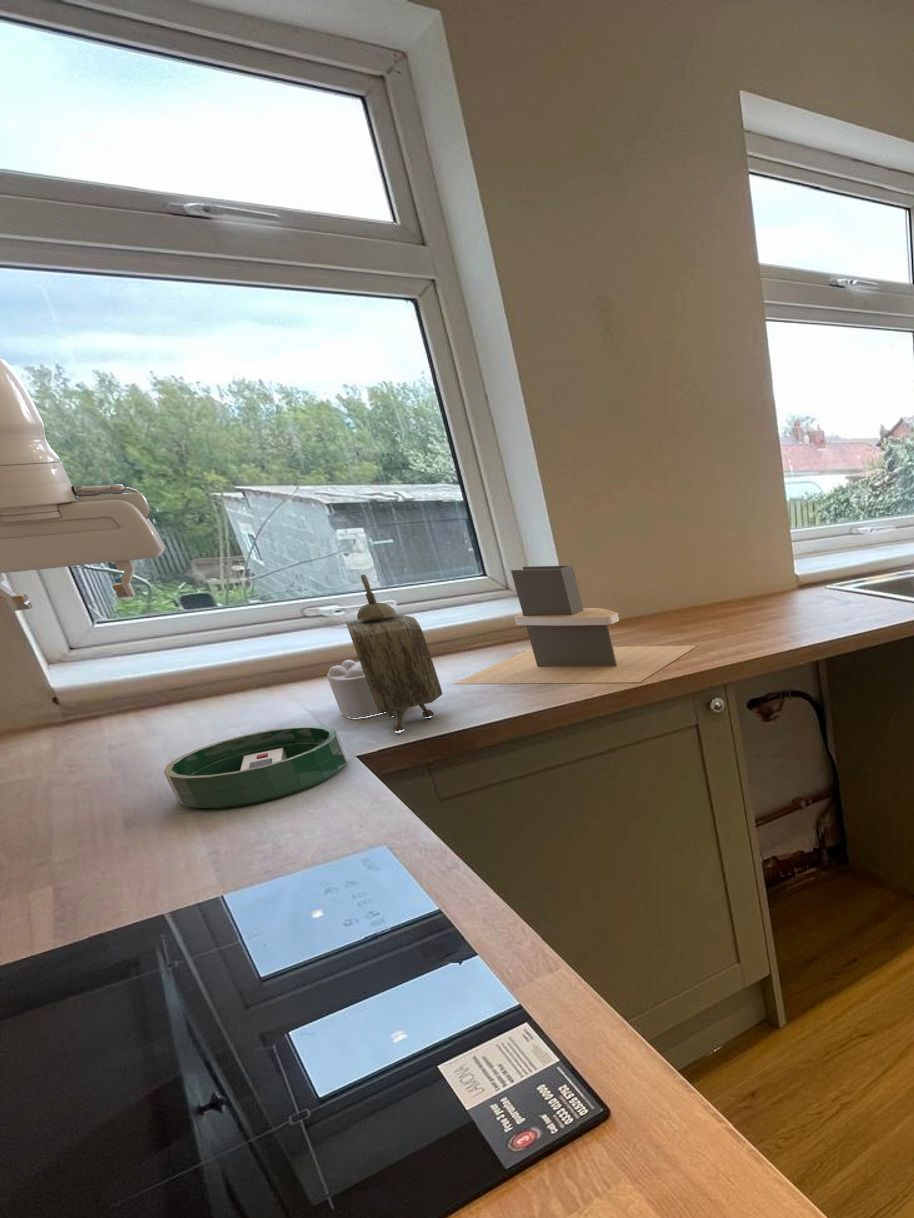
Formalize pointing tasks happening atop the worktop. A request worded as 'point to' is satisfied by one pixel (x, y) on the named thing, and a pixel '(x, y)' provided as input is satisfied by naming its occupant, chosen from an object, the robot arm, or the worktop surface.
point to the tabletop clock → (393, 659)
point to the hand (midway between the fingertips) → (76, 603)
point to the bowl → (221, 784)
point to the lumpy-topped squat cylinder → (352, 690)
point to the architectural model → (569, 638)
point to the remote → (263, 758)
